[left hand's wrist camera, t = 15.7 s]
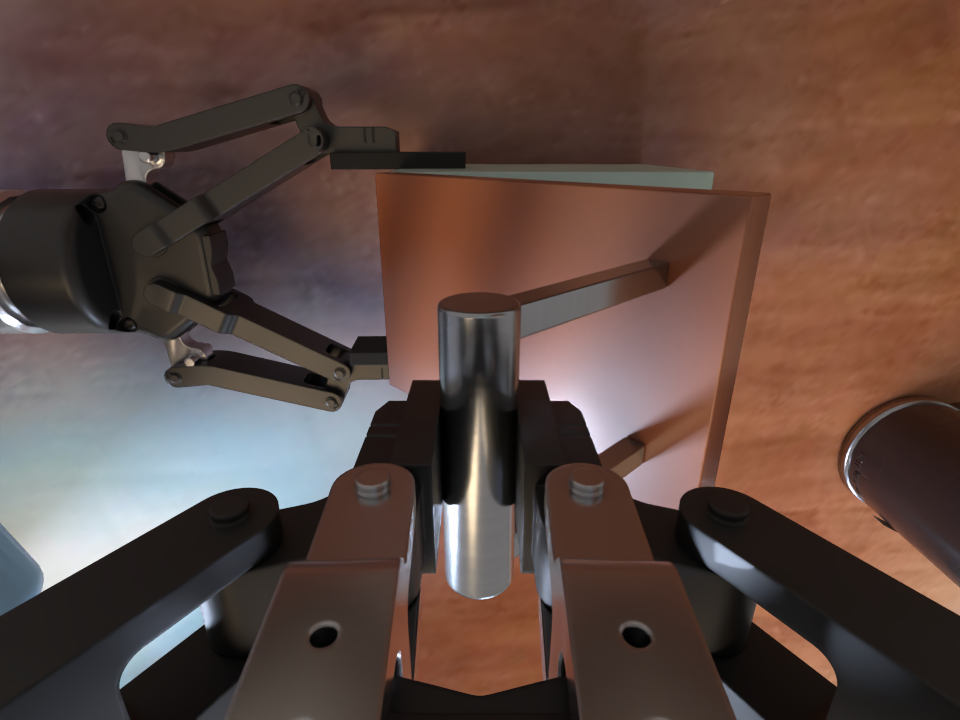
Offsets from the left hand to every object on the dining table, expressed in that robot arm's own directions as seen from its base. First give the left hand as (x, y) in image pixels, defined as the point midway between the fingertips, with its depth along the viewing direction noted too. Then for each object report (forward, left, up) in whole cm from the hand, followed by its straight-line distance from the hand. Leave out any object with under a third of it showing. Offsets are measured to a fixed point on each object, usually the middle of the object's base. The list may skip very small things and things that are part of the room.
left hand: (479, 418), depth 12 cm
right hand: (0, 0, -18) cm, 18 cm away
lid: (-2, +1, -8) cm, 8 cm away
